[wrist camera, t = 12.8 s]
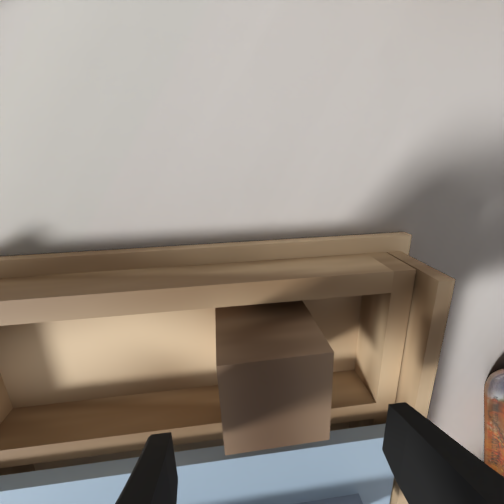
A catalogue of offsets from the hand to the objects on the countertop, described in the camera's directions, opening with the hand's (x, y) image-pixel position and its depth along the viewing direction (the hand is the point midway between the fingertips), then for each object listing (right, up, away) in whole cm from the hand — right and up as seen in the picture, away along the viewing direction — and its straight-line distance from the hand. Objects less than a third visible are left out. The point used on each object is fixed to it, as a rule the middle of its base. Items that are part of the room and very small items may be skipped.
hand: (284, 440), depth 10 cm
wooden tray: (-4, -2, +7) cm, 9 cm away
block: (-1, +2, +5) cm, 6 cm away
